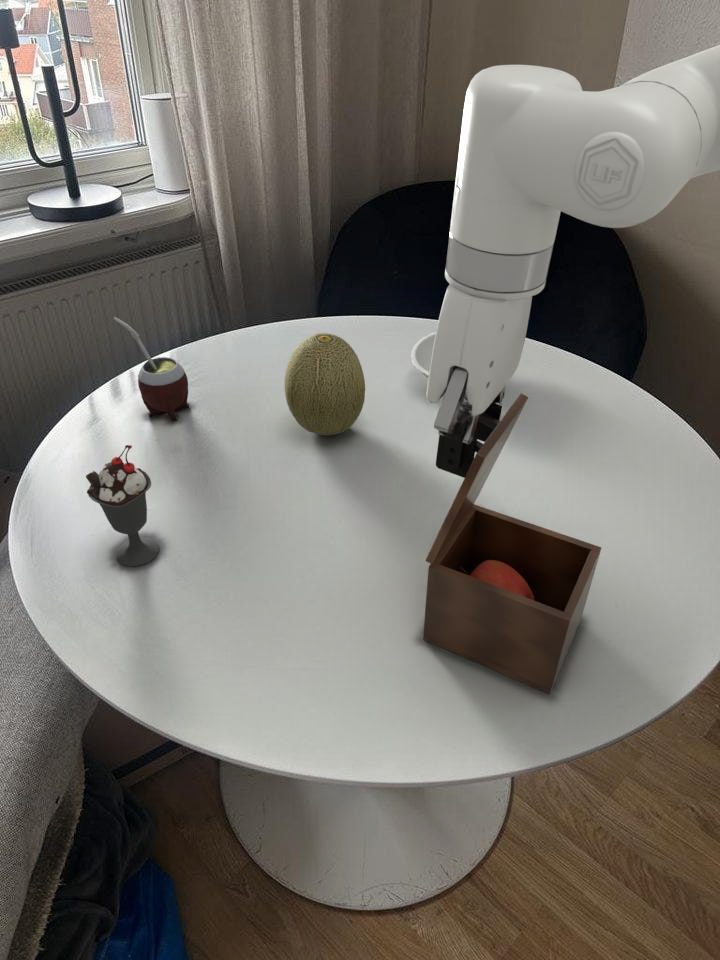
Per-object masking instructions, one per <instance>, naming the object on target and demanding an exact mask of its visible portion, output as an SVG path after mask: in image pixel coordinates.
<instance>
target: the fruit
mask: <svg viewBox="0 0 720 960" xmlns="http://www.w3.org/2000/svg"><path fill="white" fill-rule="evenodd" d="M286 365H287V366H286V368H285V374H284V396H285V400H286V404H287V407H288V410H289V411H290V414H291V415H292V416H293V418H294V420H295V421H296V422H297V423H298V425H299V426H301V428H303V429H304V430H306V431H307V432H310V433H313V434H316V435H320V436H335V435H338V434H342V433H345V432H346V431H347V430H349V429H351V427H352V426H353V425H354V423H355V422H356V421H357V420H358V418H359V416H360V415H361V412H362V411H363V407H364V404H365V398H366V381H365V375H364V371H363V367H362V364H361V361H360V359H359V357H358V354H357V353H356V352H355V350H354V348H352V346H351V345H350V344H349V343H348V342H347V340H345V339H343V338H342V337H340V336H338V335H335V334H332V333H328V332H318V333H315V334H312V335H310V336H307V337H306V338H305V339H303V340H302V341H301V342H300V343H299V344H298V345H297V346H296V347H295V348H294V350H293V352H292V354H291V355H290V357H289V360H288V361H287V364H286Z"/></svg>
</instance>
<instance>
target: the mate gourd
mask: <svg viewBox="0 0 720 960" xmlns="http://www.w3.org/2000/svg"><path fill="white" fill-rule="evenodd" d="M113 320H114V321H116V322H117V323H119V324H120V325H121V326H122V327H124V328H125V329H126V330H127V331H129V333H130V335H131V337H132V338H133V340H135V341H136V343H137V344H138V347H139V348H140V349H141V351H142V353H143V355H144V356H145V358H146V360H147V361H145V362H144V363H143V364H142V365H141V366H140V368H139V369H140V370H139V372H138V375H137V384H138V385H137V386H138V389H139V392H140V396H141V399H142V402H143V404H144V405H145V407H146V409H147V411H148V413H147V415H148V418H156V417H159V416H163V415H167V416H168V417H169V419H170V421H171V422H172V423H174V422H177V421H178V418H177V415H176V414H175V412H179V411H183V410H186V409H189V408H190V403H189V402H188V398H189V380H188V375H187V374H186V371H185V368H184V367H183V366H182V364H181V363H180V362H179V361H177V360H176V359H174V358H173V357H166V356H161V357H154V358H151V356H150V354H149V352H148V350H147V349H146V347H145V345H144V344H143V342H142V340H141V338H140V335H139V334H138V332H137V331H136V330H135V329H134V328H132V327H131V326H130V325H129V323H126V322H125V321H123V320H121V319H120V318H118V317H117V316H114V317H113Z"/></svg>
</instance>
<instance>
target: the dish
mask: <svg viewBox="0 0 720 960" xmlns="http://www.w3.org/2000/svg"><path fill="white" fill-rule="evenodd" d="M435 335H436V331H435V332H431V333H429V334H426V335H425V336H424V337H422V338H420V340H418V341H417V342H416V343H415V345H413V348H412V350H411V362H412V364H413V366H414V367H415V368H416V369H417V370H418V371H419V373H421V374H422V375H424V376H425V377H426V378H428V377H429V370H430V364H431V358H432V352H433V346H434V340H435Z"/></svg>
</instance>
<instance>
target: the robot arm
mask: <svg viewBox="0 0 720 960" xmlns="http://www.w3.org/2000/svg"><path fill="white" fill-rule="evenodd" d="M463 104H464V105H463V112H462V120H461V130H460V139H459V147H458V155H457V165H456V174H455V182H454V191H453V200H452V208H451V218H450V225H449V226H450V227H449V236H448V245H447V254H446V263H445V269H444V278H445V280H446V281H447V283H448V284H449V285H448V286H447V287H446V291H445V294H444V297H443V301H442V305H441V308H440V313H439V317H438V320H437V324H436V325H437V326H436V329H435V330H436V331H435V332H436V335H435V340H434V346H433V352H432V358H431V364H430V370H429V377H427V384H426V392H425V397H426V400H427V401H428V403H431V404H432V403H434V404H438V403H439V401H440V400H441V399H442V400H441V403H440V406H439V409H438V412H437V415H436V417H435V420H434V422H433V429H435V430H437V431H438V432H437V433H438V442H437V449H436V458H435V466H436V468H437V469H439V470H441V471H444V472H447V473H449V474H452V475H455V476H458V477H461V478H462V479H463V478H464V479H465V476H466V474H467V472H468V470H469V468H470V466H471V464H472V462H473V460H474V458H475V456H476V452H475V450H476V444H477V441H480V442H482V443H485V441H486V440H487V439H488V437H489V436H490V435H491V433H492V432H493V430H494V429H492V428H490V427H489V426H487V425H485V424H483V423H481V422H479V421H478V418H479V414H481V413H483V412H484V413H486V414H488V415H490V416H492V417H494V418H495V419H497V420H499V421H501V415H502V410H503V405H501V404H502V403H503V401H504V398H505V396H506V385H507V384H508V382H509V381H510V380H511V378H512V377H513V375H514V374H515V373H516V371H517V369H518V366H519V364H520V361H521V358H522V354H523V351H524V346H525V341H526V336H527V331H528V326H529V320H530V316H531V315H530V314H531V308H532V300H533V296H536V295H539V294H540V293H541V292H542V291H543V290H544V289H545V287H546V283H547V278H548V273H549V268H550V264H551V263H550V262H551V259H552V254H553V251H554V245H555V240H556V236H557V230H558V226H559V223H560V218H561V217H560V216H561V212H562V213H564V214H566V215H569V216H571V217H573V218H576V219H577V220H580V221H583V222H585V223H587V224H591V225H593V226H598V227H603V228H609V229H621V228H622V229H623V228H630V227H634V226H638V225H640V224H643V223H645V222H648V221H649V220H651V219H653V218H654V217H655V216H656V215H658V214H659V213H661V212H662V211H663V210H664V209H665V208H666V207H667V206H668V205H669V204H670V202H672V201H673V200H674V198H675V197H677V195H678V194H679V192H681V190H682V189H683V188H684V187H685V186H686V185H687V183H689V181H690V180H691V179H694V178H697V177H699V176H703V175H707V174H710V173H713V172H717V171H720V44H717V45H716V46H715V45H714V46H713V47H710V48H708V49H705V50H702V51H699V52H696V53H694V54H691V55H689V56H686V57H683V58H680V59H678V60H675V61H672V62H669V63H667V64H664V65H661V66H659V67H656V68H654V69H651V70H649V71H646V72H644V73H642V74H640V75H638V76H636V77H634V78H631V79H630V80H628V81H626V82H624V83H623V84H621V85H619V86H616V87H613V88H611V87H610V88H608V89H604V90H599V91H589V90H583V88H582V84H581V83H580V81H579V80H578V79H577V78H576V77H575V76H574V75H572V74H571V73H568V72H566V71H563V70H561V69H557V68H553V67H547V66H541V65H532V64H500V65H493V66H489V67H487V68H483V69H481V70H480V71H478V72H477V73H476V74H475V75H474V76H473V77H472V79H471V80H470V82H469V84H468V86H467V89H466V92H465V98H464V103H463ZM465 398H466V400H468V402H469V403H467V402H464V401H465V400H464V399H465ZM458 412H462V413H465V414H468V415H469V417H468V421H467V425H466V426H465V425H464V424H463V423H461V422H458V421H457V416H458Z"/></svg>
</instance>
